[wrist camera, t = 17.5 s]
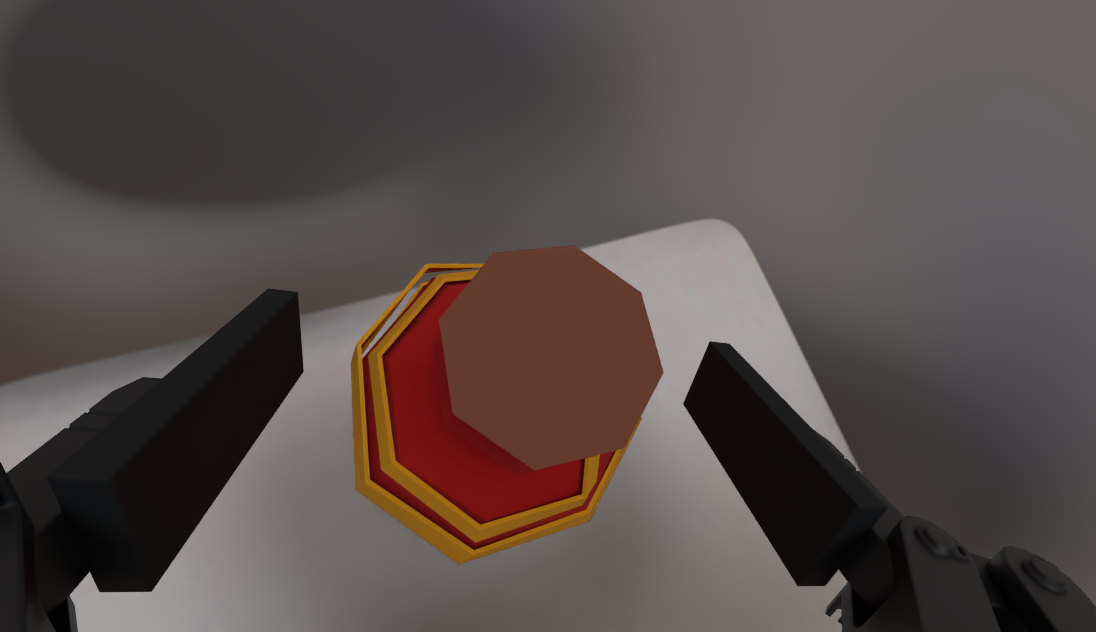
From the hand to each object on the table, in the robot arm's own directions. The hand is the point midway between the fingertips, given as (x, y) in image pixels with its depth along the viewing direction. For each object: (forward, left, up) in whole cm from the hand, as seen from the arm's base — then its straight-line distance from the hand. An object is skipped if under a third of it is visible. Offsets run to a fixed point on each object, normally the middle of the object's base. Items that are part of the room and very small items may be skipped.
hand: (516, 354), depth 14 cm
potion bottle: (0, +1, -9) cm, 9 cm away
